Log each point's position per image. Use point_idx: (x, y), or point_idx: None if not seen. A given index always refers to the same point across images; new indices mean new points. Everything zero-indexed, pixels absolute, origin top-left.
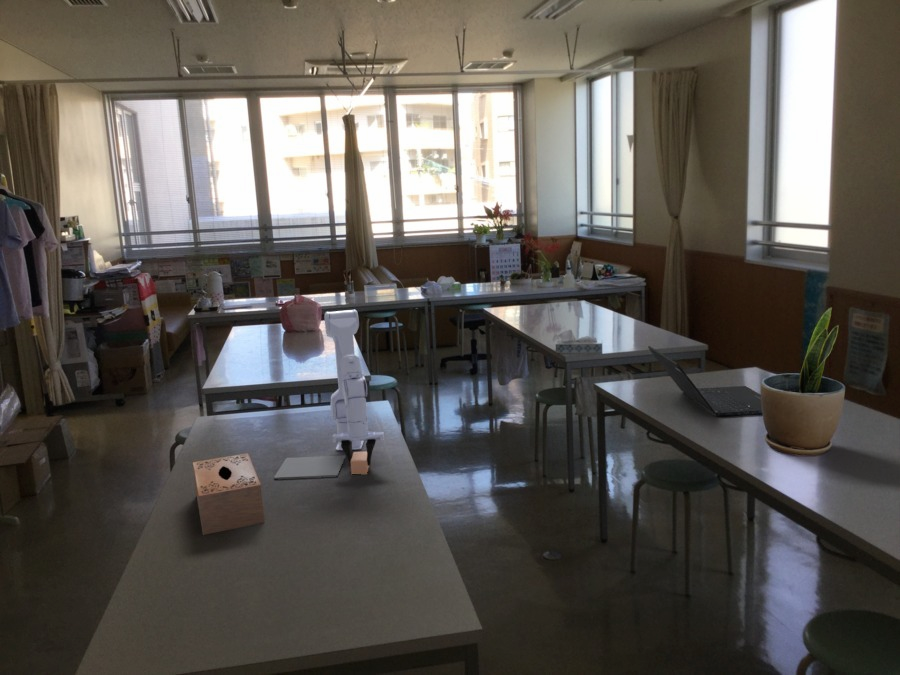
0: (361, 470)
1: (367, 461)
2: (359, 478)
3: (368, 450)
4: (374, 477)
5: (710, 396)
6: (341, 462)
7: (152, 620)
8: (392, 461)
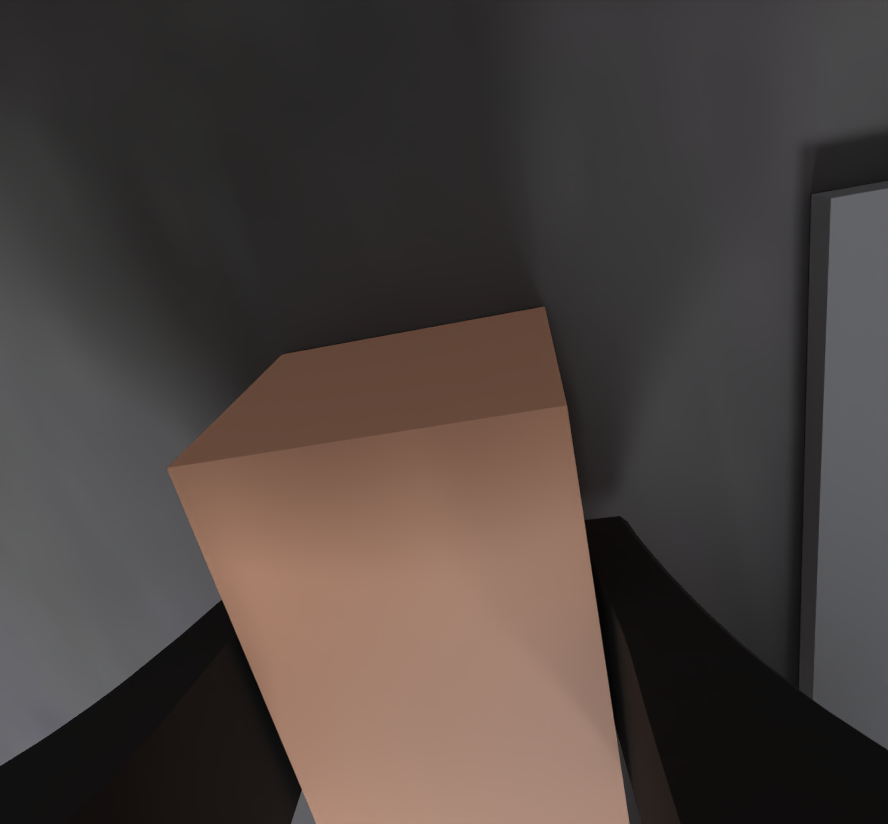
0: (351, 360)
1: None
2: (341, 146)
3: (56, 789)
4: (93, 216)
5: None
6: None
7: None
8: None
